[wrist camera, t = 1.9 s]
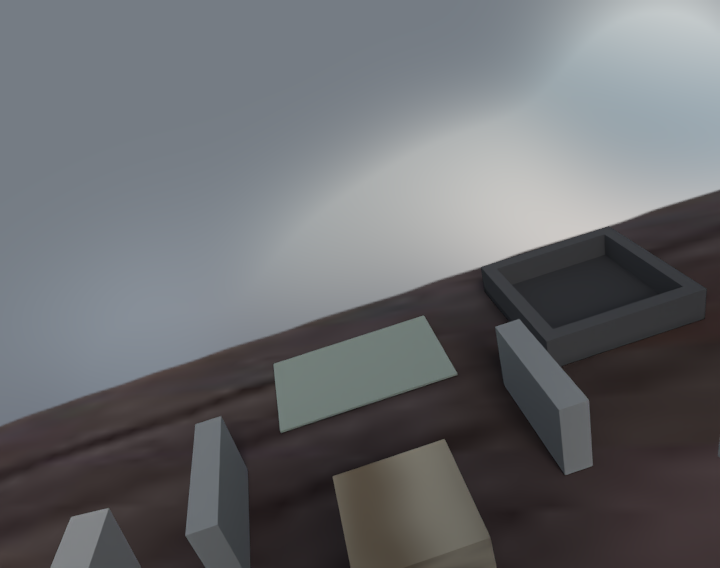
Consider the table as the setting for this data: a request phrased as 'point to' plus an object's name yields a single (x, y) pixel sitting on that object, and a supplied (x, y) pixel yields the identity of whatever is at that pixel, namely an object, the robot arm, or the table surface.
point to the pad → (358, 372)
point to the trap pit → (592, 294)
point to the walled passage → (521, 378)
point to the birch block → (412, 513)
